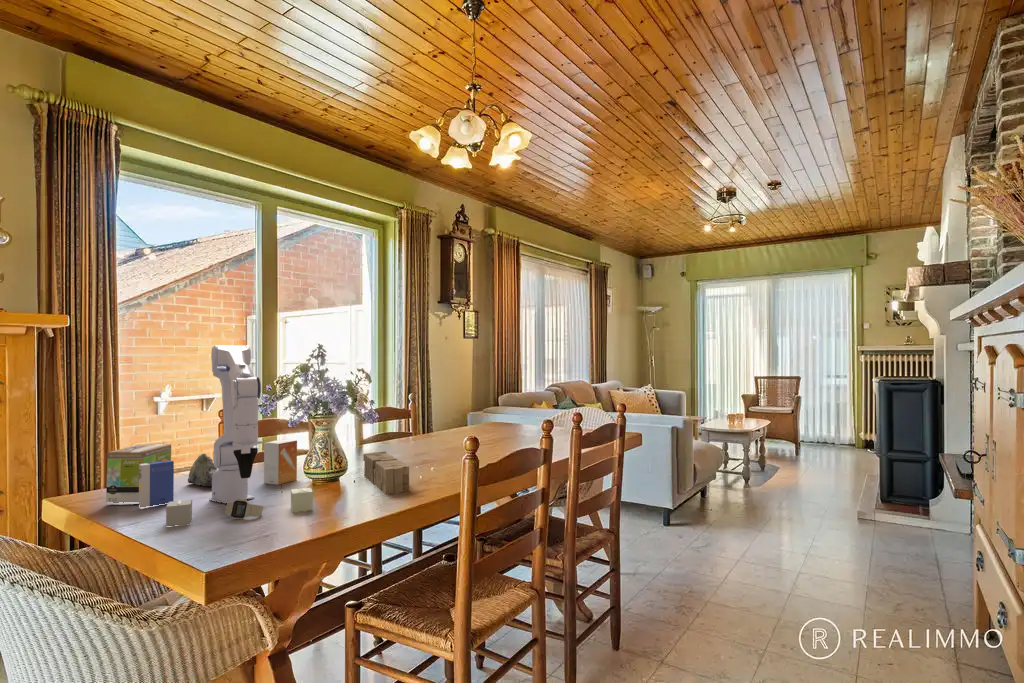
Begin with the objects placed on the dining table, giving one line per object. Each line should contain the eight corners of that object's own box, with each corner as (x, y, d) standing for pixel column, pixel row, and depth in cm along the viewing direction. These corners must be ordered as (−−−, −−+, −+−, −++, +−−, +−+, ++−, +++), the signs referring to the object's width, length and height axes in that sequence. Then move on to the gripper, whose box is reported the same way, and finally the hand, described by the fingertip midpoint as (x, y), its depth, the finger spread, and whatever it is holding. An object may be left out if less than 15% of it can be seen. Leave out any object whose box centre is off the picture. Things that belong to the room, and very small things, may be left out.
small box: (278, 485, 180) (278, 443, 180) (263, 483, 182) (263, 442, 182) (297, 480, 187) (297, 439, 187) (282, 478, 189) (282, 438, 190)
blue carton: (169, 502, 160) (170, 458, 160) (173, 503, 158) (173, 460, 158) (137, 507, 154) (137, 463, 154) (140, 509, 152) (141, 464, 152)
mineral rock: (219, 489, 175) (220, 456, 175) (180, 492, 171) (180, 458, 172) (226, 480, 187) (226, 449, 187) (189, 483, 184) (189, 451, 184)
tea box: (143, 505, 156) (143, 451, 157) (104, 506, 156) (105, 451, 156) (171, 492, 171) (172, 442, 172) (136, 493, 170) (136, 443, 171)
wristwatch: (219, 520, 142) (220, 499, 142) (233, 513, 148) (233, 493, 149) (255, 520, 142) (256, 500, 142) (268, 513, 148) (268, 493, 148)
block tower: (410, 495, 170) (386, 474, 196) (411, 467, 170) (386, 449, 196) (384, 498, 167) (362, 476, 193) (384, 469, 167) (363, 451, 193)
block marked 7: (290, 508, 152) (290, 488, 153) (310, 506, 155) (310, 486, 155) (292, 513, 148) (292, 492, 148) (312, 510, 150) (312, 490, 150)
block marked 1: (168, 522, 140) (168, 501, 140) (191, 519, 142) (192, 498, 143) (166, 527, 136) (166, 505, 136) (190, 525, 138) (190, 503, 138)
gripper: (263, 426, 142) (263, 481, 142) (262, 420, 155) (262, 470, 155) (232, 428, 139) (231, 484, 139) (233, 421, 152) (232, 473, 152)
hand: (245, 477), depth 146 cm, fingers closed
